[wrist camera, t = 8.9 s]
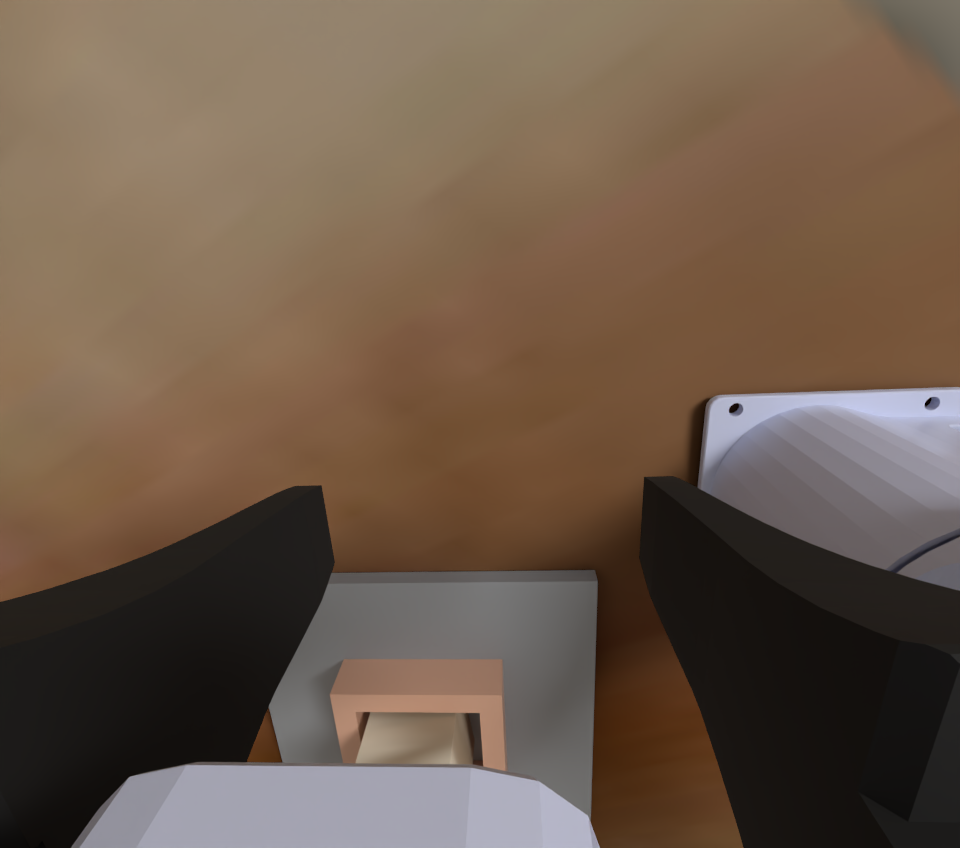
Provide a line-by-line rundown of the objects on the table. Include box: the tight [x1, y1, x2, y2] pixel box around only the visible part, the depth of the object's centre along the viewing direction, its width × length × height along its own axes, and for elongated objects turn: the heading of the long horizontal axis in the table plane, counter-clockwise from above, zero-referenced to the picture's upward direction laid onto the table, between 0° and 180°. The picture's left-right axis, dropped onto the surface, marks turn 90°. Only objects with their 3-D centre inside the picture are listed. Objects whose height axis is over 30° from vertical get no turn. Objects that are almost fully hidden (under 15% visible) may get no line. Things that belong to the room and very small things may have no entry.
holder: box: [269, 570, 598, 822], centre depth 24 cm, size 16×16×3 cm
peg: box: [356, 712, 475, 764], centre depth 22 cm, size 4×4×7 cm
